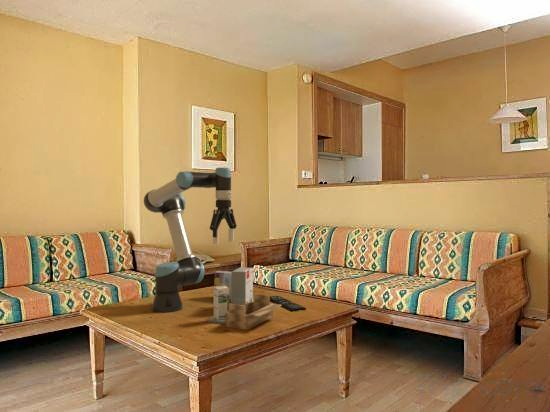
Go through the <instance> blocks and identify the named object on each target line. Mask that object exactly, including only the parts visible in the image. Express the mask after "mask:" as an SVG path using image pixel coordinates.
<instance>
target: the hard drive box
mask: <svg viewBox="0 0 550 412" xmlns="http://www.w3.org/2000/svg"><path fill="white" fill-rule="evenodd" d="M231 272H232V275H231V300H230V304H235V305H245V304H247V303H250V302H254V268H253V267H241V266H240V267H238V268H236V269H234V270H232V271H231Z"/></svg>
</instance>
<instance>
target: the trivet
mask: <svg viewBox="0 0 550 412" xmlns="http://www.w3.org/2000/svg"><path fill="white" fill-rule="evenodd" d="M205 322H207V323H214V324H222V325H225V319H220V320H217V319H216V318H215V317H214V315H213V316H211V317H209V318H206V319H205Z"/></svg>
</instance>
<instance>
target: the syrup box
mask: <svg viewBox="0 0 550 412" xmlns="http://www.w3.org/2000/svg"><path fill="white" fill-rule="evenodd" d="M212 289H213V291H212V292H213V294H212V295H213V316H214V317H215V318H216V319H217V320H220V319H225V313H226V312H228V311H229V304H230V300H229V287H227V286H217V287H214V286H213V288H212Z"/></svg>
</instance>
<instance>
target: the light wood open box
mask: <svg viewBox="0 0 550 412" xmlns="http://www.w3.org/2000/svg"><path fill="white" fill-rule="evenodd" d="M269 296H270V295H269V294H262V293H253V302H250V303H247V304H245V305H235V304H231V303H229V311H228V312H226V313H225V324H224V325H225V328H226V327H228V328H234V329H241V330H247V331H248V330H251V329H252V328H254V327H256V326H258V325H260V324H262V323H263V322H265V321H266V322H267V320H269V319H272V317H274V311H275V310H276V309H278V308H280V307H282V305H281V304H276V303H270V300H269Z"/></svg>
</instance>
